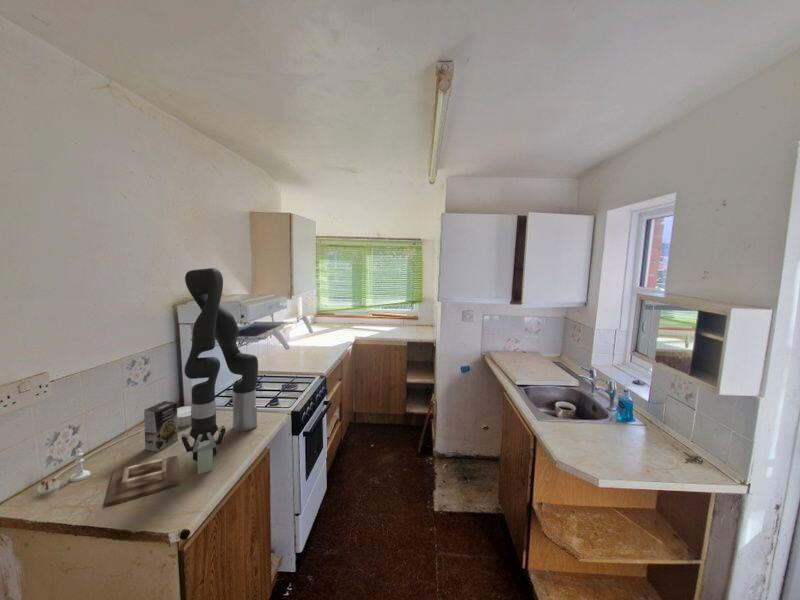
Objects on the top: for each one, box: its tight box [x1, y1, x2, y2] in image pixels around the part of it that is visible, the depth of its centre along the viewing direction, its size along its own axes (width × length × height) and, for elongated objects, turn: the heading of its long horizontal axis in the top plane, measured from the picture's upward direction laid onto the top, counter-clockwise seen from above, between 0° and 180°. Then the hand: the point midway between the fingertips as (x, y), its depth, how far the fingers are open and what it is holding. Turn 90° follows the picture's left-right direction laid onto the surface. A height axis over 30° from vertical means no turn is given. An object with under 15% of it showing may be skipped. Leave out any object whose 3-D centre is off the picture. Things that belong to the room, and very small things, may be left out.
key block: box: [196, 440, 214, 475], centre depth 119 cm, size 4×7×8 cm, turn 34°
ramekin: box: [177, 405, 192, 428], centre depth 150 cm, size 11×11×5 cm
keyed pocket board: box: [105, 454, 179, 507], centre depth 111 cm, size 18×18×4 cm
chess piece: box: [69, 447, 91, 482], centre depth 110 cm, size 5×5×10 cm
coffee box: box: [143, 400, 179, 453], centre depth 131 cm, size 9×6×16 cm
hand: (204, 458), depth 119 cm, fingers closed on key block, 4 cm apart
